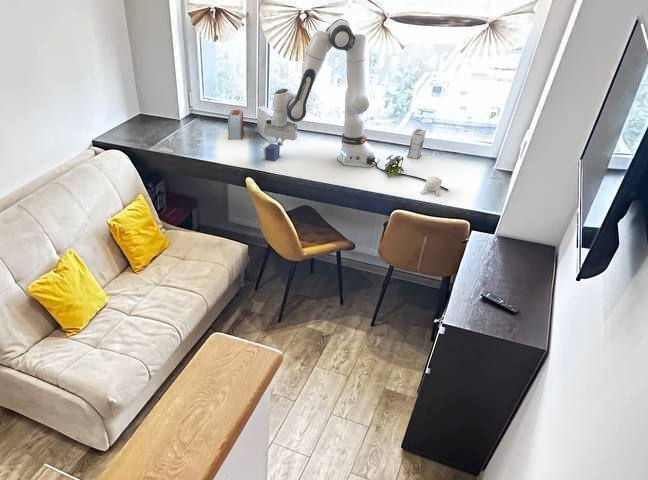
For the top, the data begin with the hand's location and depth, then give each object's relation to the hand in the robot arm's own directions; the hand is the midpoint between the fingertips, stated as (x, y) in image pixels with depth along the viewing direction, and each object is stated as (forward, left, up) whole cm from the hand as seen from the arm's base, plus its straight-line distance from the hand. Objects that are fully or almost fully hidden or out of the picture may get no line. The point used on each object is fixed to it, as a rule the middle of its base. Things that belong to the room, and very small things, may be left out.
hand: (280, 145), depth 311 cm
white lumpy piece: (-89, +6, -8) cm, 90 cm away
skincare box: (+23, -29, -9) cm, 37 cm away
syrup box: (-69, -35, -8) cm, 78 cm away
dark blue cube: (+2, 0, -5) cm, 5 cm away
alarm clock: (+43, -24, -8) cm, 49 cm away
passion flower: (-65, -9, -9) cm, 66 cm away
